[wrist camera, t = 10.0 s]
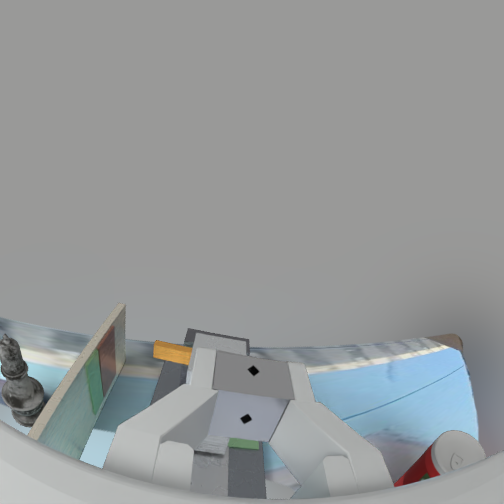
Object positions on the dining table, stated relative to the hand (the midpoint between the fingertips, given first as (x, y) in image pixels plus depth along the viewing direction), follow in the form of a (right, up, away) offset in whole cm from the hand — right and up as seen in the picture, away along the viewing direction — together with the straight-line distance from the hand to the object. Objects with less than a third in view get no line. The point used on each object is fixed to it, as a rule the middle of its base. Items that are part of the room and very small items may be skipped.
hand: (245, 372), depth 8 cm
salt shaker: (-27, -16, +16) cm, 35 cm away
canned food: (+19, -27, +13) cm, 36 cm away
